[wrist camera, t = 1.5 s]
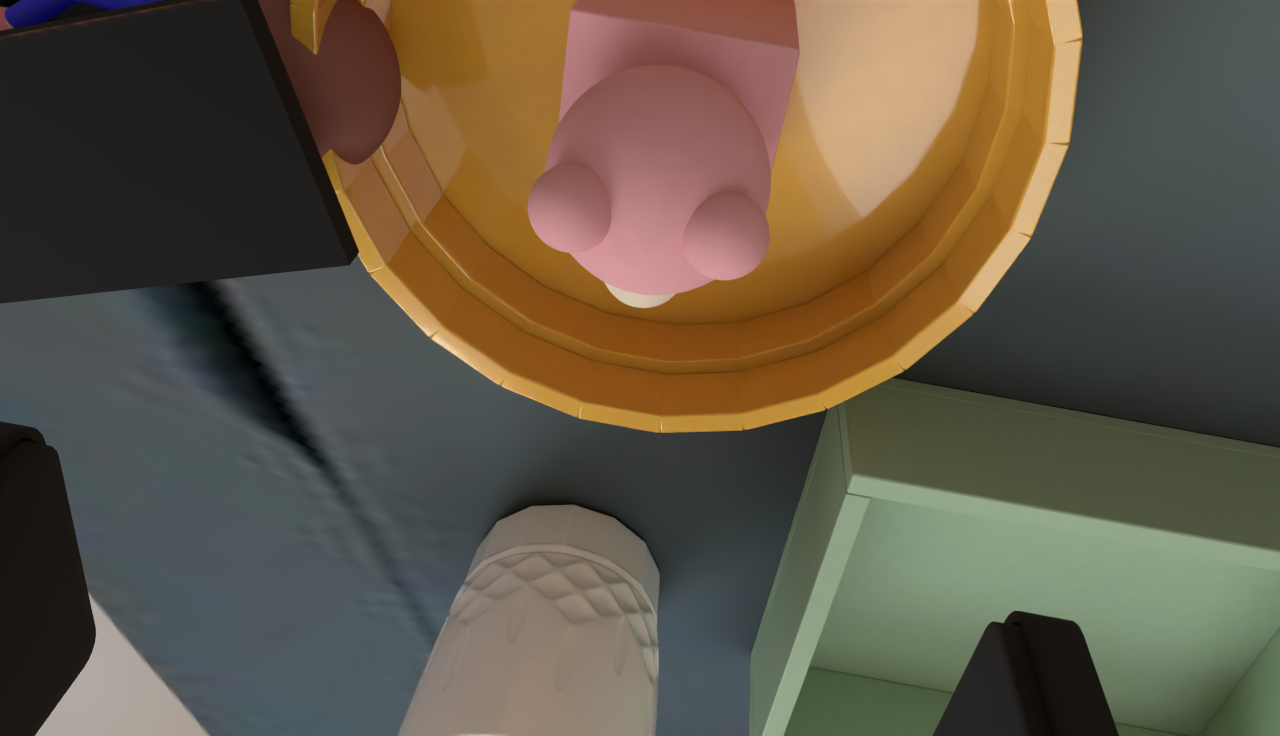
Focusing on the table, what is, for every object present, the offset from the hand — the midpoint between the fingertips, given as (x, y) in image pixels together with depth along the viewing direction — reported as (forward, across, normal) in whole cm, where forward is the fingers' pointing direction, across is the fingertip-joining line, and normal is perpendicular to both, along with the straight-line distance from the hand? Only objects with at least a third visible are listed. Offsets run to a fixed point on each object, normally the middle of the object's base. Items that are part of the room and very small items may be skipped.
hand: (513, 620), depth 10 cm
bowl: (+19, 0, 0) cm, 19 cm away
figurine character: (+19, +14, +3) cm, 24 cm away
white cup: (+20, 0, +19) cm, 27 cm away
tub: (+19, -15, +15) cm, 29 cm away
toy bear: (+19, 0, 0) cm, 19 cm away
